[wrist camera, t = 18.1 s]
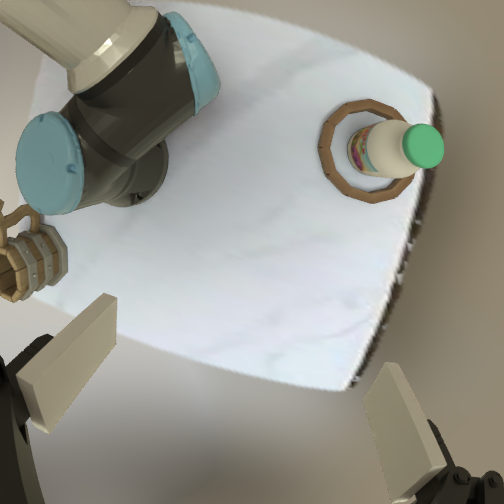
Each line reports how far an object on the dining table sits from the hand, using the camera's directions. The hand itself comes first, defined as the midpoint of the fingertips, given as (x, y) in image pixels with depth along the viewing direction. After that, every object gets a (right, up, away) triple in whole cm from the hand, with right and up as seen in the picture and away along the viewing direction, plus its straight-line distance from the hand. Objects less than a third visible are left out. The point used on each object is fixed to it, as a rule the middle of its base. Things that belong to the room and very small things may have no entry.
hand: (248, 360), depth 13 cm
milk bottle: (+19, +21, +31) cm, 42 cm away
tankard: (-43, +8, +39) cm, 58 cm away
